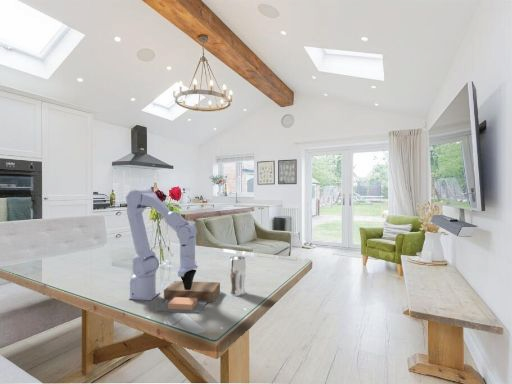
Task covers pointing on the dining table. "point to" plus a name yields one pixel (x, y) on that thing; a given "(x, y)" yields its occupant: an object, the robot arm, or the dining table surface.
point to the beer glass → (237, 275)
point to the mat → (196, 309)
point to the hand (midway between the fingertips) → (187, 289)
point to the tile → (182, 303)
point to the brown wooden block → (193, 291)
